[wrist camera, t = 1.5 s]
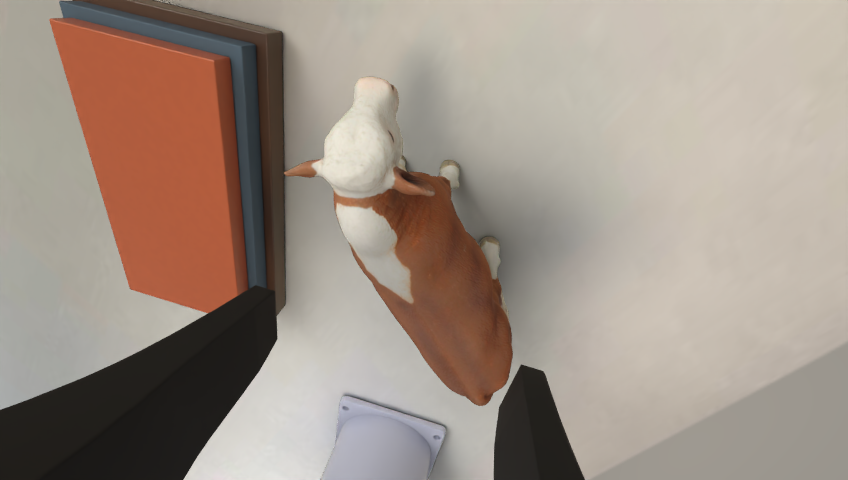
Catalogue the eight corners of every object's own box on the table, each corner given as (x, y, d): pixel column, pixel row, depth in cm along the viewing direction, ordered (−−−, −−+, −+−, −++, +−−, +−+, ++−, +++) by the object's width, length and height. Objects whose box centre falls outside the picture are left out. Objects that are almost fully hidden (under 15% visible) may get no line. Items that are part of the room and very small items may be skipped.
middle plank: (268, 309, 24) (259, 320, 23) (150, 273, 25) (137, 283, 24) (256, 44, 16) (241, 46, 15) (81, 0, 16) (57, 0, 16)
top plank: (251, 312, 23) (240, 323, 22) (143, 279, 23) (129, 289, 23) (230, 57, 15) (214, 60, 15) (72, 17, 16) (47, 18, 15)
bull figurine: (438, 42, 16) (373, 73, 9) (525, 301, 21) (527, 444, 14) (346, 83, 17) (230, 135, 10) (450, 314, 23) (420, 447, 16)
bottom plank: (285, 305, 25) (275, 317, 24) (159, 267, 26) (145, 277, 25) (282, 31, 17) (267, 33, 16) (93, -15, 17) (67, -16, 16)
